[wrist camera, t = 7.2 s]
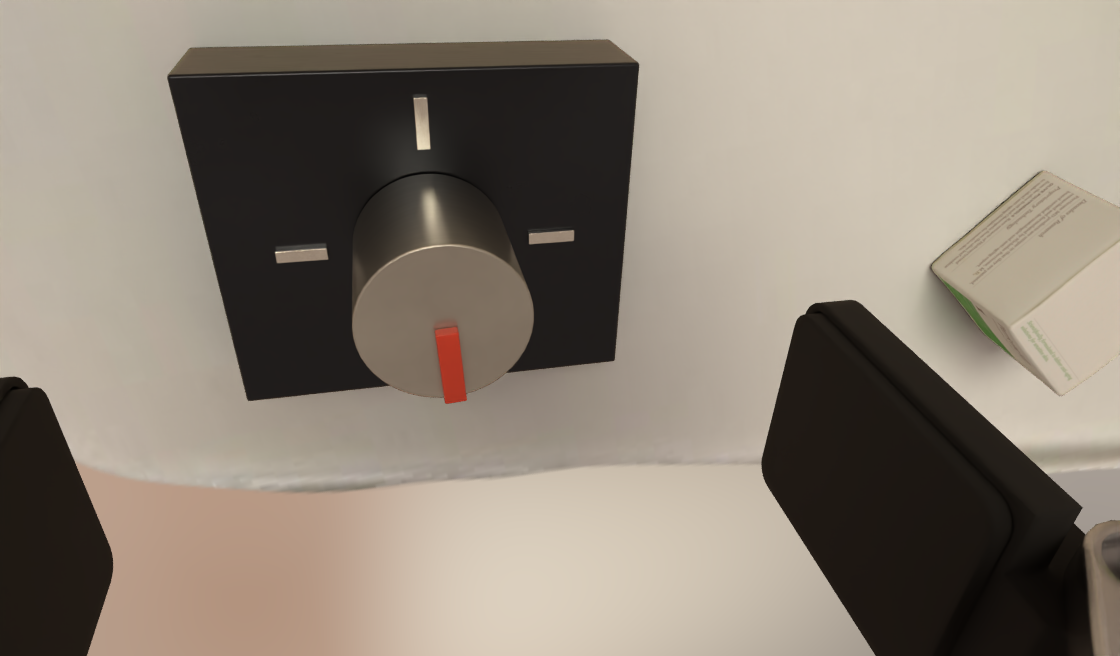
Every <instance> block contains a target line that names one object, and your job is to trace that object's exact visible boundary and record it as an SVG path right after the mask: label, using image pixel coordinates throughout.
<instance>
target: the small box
mask: <svg viewBox="0 0 1120 656" xmlns="http://www.w3.org/2000/svg"><path fill="white" fill-rule="evenodd" d="M931 268H932V270H933V272H934V273H935V274H936V275H937V276H938V277H939V278H940V280H941V281H942V282H943V283H944V284H945V285H946V287H947V288H948V289H949V290H950V292H951V293H952V294H953V295H954V296H955V298H956V299H957V300H958V301H959V303H960V304H961V305H962V306H963V308H964V309H965V310H966V312H967V313H968V314H969V316H970V317H971V318H972V319H973V321H974V322H975V323H976V325H977V326H978V327H979V329H980V330H981V331H982V332H983V333H984V334H985V335H986V336H987V337H988V338H989V339H990V340H992V341H993V342H994V343H995V344H997V345H998V346H999V347H1000V348H1001V349H1003V350H1004V351H1005V352H1006V353H1007V354H1009V355H1010V356H1011V357H1012V358H1013V359H1015V360H1016V361H1017V362H1018V363H1020V364H1021V365H1022V366H1023V367H1025V368H1026V369H1027V370H1028V371H1029V372H1031V373H1032V374H1033V375H1034V376H1036V377H1037V378H1038V379H1039V380H1041V381H1042V382H1043V383H1044V384H1045V385H1047V386H1048V387H1049V388H1050V389H1051V390H1052V391H1054V392H1055V393H1056V394H1057V395H1058V396H1063V395H1065V394H1066V393H1068V392H1069V391H1071V390H1072V389H1074V388H1075V387H1077V386H1078V385H1079V384H1081V383H1082V382H1084V381H1085V380H1087V379H1088V378H1089V377H1091V376H1092V375H1094V374H1095V373H1096V372H1097V371H1099V370H1100V369H1101V368H1103V367H1104V366H1105V365H1107V364H1108V363H1109V362H1110V361H1112V360H1113V359H1114V358H1115V357H1117V356H1118V355H1119V354H1120V207H1118V206H1116V205H1114V204H1112V203H1110V202H1107V201H1105V200H1103V199H1101V198H1099V197H1097V196H1095V195H1093V194H1091V193H1089V192H1087V191H1085V190H1083V189H1081V188H1079V187H1077V186H1075V185H1073V184H1071V183H1069V182H1067V181H1065V180H1063V179H1061V178H1059V177H1057V176H1055V175H1053V174H1051V173H1050V172H1048V171H1042V172H1041V173H1039V174H1038V175H1037V176H1036V177H1034V178H1033V179H1032V180H1031V181H1029V182H1028V183H1027V184H1026V185H1024V186H1023V187H1022V188H1021V189H1020V190H1018V191H1017V192H1016V193H1015V194H1014V195H1013V196H1011V197H1010V198H1009V199H1008V200H1007V201H1005V202H1004V203H1003V204H1002V205H1001V206H1000V207H998V208H997V209H996V210H995V211H994V212H993V213H991V214H990V215H989V216H988V217H987V218H985V219H984V220H983V221H982V222H981V223H980V224H979V225H977V226H976V227H975V228H974V229H973V230H971V231H970V232H969V233H968V234H967V235H965V236H964V237H963V238H962V239H961V240H959V241H958V242H957V243H956V244H955V245H953V246H952V247H951V248H950V249H949V250H947V251H946V252H945V253H944V254H943V255H942V256H940V257H939V258H938V259H937V260H936V261H935V262H934V263H933V264H932V267H931Z"/></svg>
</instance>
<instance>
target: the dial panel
mask: <svg viewBox="0 0 1120 656" xmlns="http://www.w3.org/2000/svg"><path fill="white" fill-rule="evenodd" d="M638 73H639V63H638V62H637V61H635V60H634V59H633V58H632V57H630V56H629V55H628V54H626V53H625V52H624V51H623V50H621V49H620V48H619V47H618V46H616V45H615V44H614V43H612V42H611V41H610V40H564V41H513V42H462V43H411V44H360V45H309V46H258V47H207V48H190V49H189V50H188V51H187V52H186V53H185V55H184V56H183V57H182V58H181V59H180V61H179V62H178V63H177V64H176V66H175V67H174V68H173V69H172V71H171V72H170V73H169V74H168V77H167V79H168V83H169V87H170V91H171V95H172V99H173V103H174V107H175V111H176V115H177V119H178V123H179V127H180V131H181V135H182V139H183V143H184V147H185V151H186V155H187V159H188V163H189V167H190V171H191V175H192V179H193V183H194V187H195V191H196V195H197V200H198V204H199V208H200V212H201V216H202V220H203V224H204V228H205V232H206V236H207V240H208V244H209V248H210V252H211V256H212V260H213V264H214V268H215V272H216V276H217V280H218V284H219V288H220V292H221V296H222V300H223V304H224V308H225V312H226V316H227V320H228V324H229V328H230V332H231V336H232V340H233V344H234V348H235V352H236V356H237V360H238V364H239V369H240V373H241V377H242V381H243V385H244V389H245V393H246V397H247V399H248V401H254V400H264V399H273V398H282V397H291V396H300V395H309V394H318V393H327V392H336V391H345V390H355V389H364V388H373V387H382V386H390V385H389V384H387V383H385V382H384V381H382V380H381V379H380V378H379V377H377V376H376V375H375V374H374V373H373V372H372V371H371V370H370V369H369V368H368V367H367V366H366V364H365V363H364V361H363V360H362V358H361V357H360V355H359V352H358V350H357V348H356V345H355V342H354V339H353V332H352V267H353V234H354V228H355V225H356V222H357V219H358V217H359V215H360V213H361V211H362V210H363V208H364V207H365V205H366V204H367V203H368V201H369V200H370V199H371V198H372V197H373V196H374V195H375V194H376V193H378V192H379V191H380V190H381V189H383V188H384V187H386V186H388V185H389V184H391V183H393V182H395V181H398V180H400V179H403V178H406V177H409V176H414V175H420V174H441V175H447V176H451V177H455V178H458V179H461V180H463V181H465V182H467V183H469V184H471V185H473V186H474V187H476V188H477V189H479V190H480V191H481V192H482V193H483V194H485V195H486V196H487V197H488V199H489V200H490V201H491V202H492V203H493V205H494V206H495V208H496V209H497V211H498V213H499V215H500V217H501V219H502V222H503V225H504V227H505V230H506V232H507V235H508V238H509V240H510V243H511V245H512V248H513V251H514V253H515V256H516V258H517V261H518V264H519V266H520V269H521V271H522V274H523V277H524V279H525V282H526V284H527V287H528V290H529V292H530V295H531V299H532V302H533V309H534V323H533V329H532V333H531V336H530V339H529V342H528V344H527V346H526V348H525V350H524V352H523V354H522V355H521V357H520V358H519V360H518V361H517V362H516V363H515V364H514V365H513V367H512V368H511V369H509V370H508V371H507V372H506V373H509V372H518V371H527V370H536V369H546V368H555V367H564V366H573V365H582V364H591V363H600V362H609V361H614V360H615V351H616V339H617V327H618V314H619V302H620V290H621V278H622V266H623V254H624V242H625V230H626V218H627V206H628V194H629V182H630V169H631V157H632V145H633V133H634V121H635V109H636V97H637V85H638Z"/></svg>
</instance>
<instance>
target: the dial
mask: <svg viewBox="0 0 1120 656" xmlns="http://www.w3.org/2000/svg"><path fill="white" fill-rule="evenodd" d="M533 323H534V309H533V302H532V299H531V295H530V292H529V290H528V287H527V284H526V282H525V279H524V277H523V274H522V271H521V269H520V266H519V264H518V261H517V258H516V256H515V253H514V251H513V248H512V245H511V243H510V240H509V238H508V235H507V232H506V230H505V227H504V225H503V222H502V219H501V217H500V215H499V213H498V211H497V209H496V208H495V206H494V205H493V203H492V202H491V201H490V200H489V199H488V197H487V196H486V195H485V194H483V193H482V192H481V191H480V190H479V189H477V188H476V187H474V186H473V185H471V184H469V183H467V182H465V181H463V180H461V179H458V178H455V177H451V176H447V175H441V174H420V175H414V176H409V177H406V178H403V179H400V180H398V181H395V182H393V183H391V184H389V185H388V186H386V187H384V188H383V189H381V190H380V191H379V192H378V193H376V194H375V195H374V196H373V197H372V198H371V199H370V200H369V201H368V203H367V204H366V205H365V207H364V208H363V210H362V211H361V213H360V215H359V217H358V219H357V222H356V225H355V228H354V234H353V267H352V332H353V339H354V342H355V345H356V348H357V350H358V352H359V355H360V357H361V358H362V360H363V361H364V363H365V364H366V366H367V367H368V368H369V369H370V370H371V371H372V372H373V373H374V374H375V375H376V376H377V377H379V378H380V379H381V380H382V381H384V382H385V383H387V384H389V385H390V386H392V387H394V388H396V389H398V390H401V391H404V392H407V393H410V394H413V395H418V396H424V397H444V399H445V403H446V404H449V403H455V402H461V401H466V400H467V396H466V394H467V393H470V392H473V391H476V390H478V389H481V388H483V387H485V386H487V385H489V384H491V383H492V382H494V381H496V380H497V379H499V378H500V377H501V376H503V375H504V374H505V373H506V372H507V371H508V370H509V369H511V368H512V367H513V365H514V364H515V363H516V362H517V361H518V360H519V358H520V357H521V355H522V354H523V352H524V350H525V348H526V346H527V344H528V342H529V339H530V336H531V333H532V329H533Z"/></svg>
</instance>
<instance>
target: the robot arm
mask: <svg viewBox="0 0 1120 656" xmlns="http://www.w3.org/2000/svg"><path fill="white" fill-rule="evenodd" d="M762 473H763V477H764V480H765V482H766V484H767V486H768V488H769V489H770V491H771V492H772V494H773V496H774V497H775V499H776V500H777V502H778V503H779V505H780V507H781V508H782V510H783V511H784V513H785V514H786V516H787V518H788V519H789V521H790V522H791V524H792V525H793V527H794V528H795V530H796V532H797V533H798V535H799V536H800V538H801V539H802V541H803V543H804V544H805V546H806V547H807V549H808V550H809V552H810V554H811V555H812V557H813V558H814V560H815V561H816V563H817V564H818V566H819V568H820V569H821V571H822V572H823V574H824V575H825V577H826V578H827V580H828V582H829V583H830V585H831V586H832V588H833V590H834V591H835V593H836V594H837V595H838V597H839V599H840V600H841V602H842V604H843V605H844V607H845V608H846V610H847V611H848V613H849V615H850V616H851V618H852V619H853V621H854V622H855V624H856V626H857V627H858V629H859V630H860V631H861V633H862V635H863V636H864V638H865V640H866V641H867V643H868V644H869V646H870V647H871V649H872V651H873V652H874V654H875V655H876V656H1120V520H1110V521H1107V522H1103V523H1099V524H1096V525H1095V526H1094V527H1093V528H1092V529H1091V530H1090V531H1088V532H1087V534H1086V535H1085V534H1084V533H1083V532H1082V531H1081V530H1080V529H1079V528H1078V527H1077V526H1076V525H1075V524H1074V522H1075V520H1076V518H1077V516H1078V515H1079V513H1080V511H1081V509H1082V507H1081V506H1080V505H1079V504H1078V503H1077V502H1076V501H1075V500H1074V499H1073V498H1072V497H1071V496H1069V495H1068V494H1067V493H1066V492H1065V491H1064V490H1063V489H1062V488H1060V486H1059V485H1057V484H1056V483H1055V482H1054V481H1053V480H1052V479H1051V478H1050V477H1049V476H1048V475H1047V474H1046V473H1044V472H1043V471H1042V470H1041V469H1040V468H1039V467H1038V466H1037V465H1036V464H1035V463H1034V462H1032V461H1031V460H1030V459H1029V458H1028V457H1027V456H1026V455H1025V454H1024V453H1023V452H1022V451H1021V450H1019V449H1018V448H1017V447H1016V446H1015V445H1014V444H1013V443H1012V442H1011V441H1010V440H1009V439H1007V438H1006V437H1005V436H1004V435H1003V434H1002V433H1001V432H1000V431H999V430H998V429H997V428H995V427H994V426H993V425H992V424H991V423H990V422H989V421H988V420H987V419H986V418H985V417H984V416H982V415H981V414H980V413H979V412H978V411H977V410H976V409H975V408H974V407H973V406H972V405H970V404H969V403H968V402H967V401H966V400H965V399H964V398H963V397H962V396H961V395H960V394H958V393H957V392H956V391H955V390H954V389H953V388H952V387H951V386H950V385H949V384H948V383H947V382H945V381H944V380H943V379H942V378H941V377H940V376H939V375H938V374H937V373H936V372H935V371H933V370H932V369H931V368H930V367H929V366H928V365H927V364H926V363H925V362H924V361H923V360H921V359H920V358H919V357H918V356H917V355H916V354H915V353H914V352H913V351H912V350H911V349H909V348H908V347H907V346H906V345H905V344H904V343H903V342H902V341H901V340H900V339H899V338H898V337H896V336H895V335H894V334H893V333H892V332H891V331H890V330H889V329H888V328H887V327H886V326H884V325H883V324H882V323H881V322H880V321H879V320H878V319H877V318H876V317H875V316H874V315H872V314H871V313H870V312H869V311H868V310H867V309H866V308H865V307H864V306H863V305H862V304H860V303H859V302H857V301H854V300H845V301H834V302H823V303H815V304H813V305H811V306H810V307H809V309H808V310H807V312H806V314H805V315H802V316H800V317H799V318H798V319H797V321H796V324H795V327H794V331H793V335H792V339H791V343H790V347H789V351H788V355H787V359H786V363H785V367H784V371H783V375H782V379H781V383H780V388H779V392H778V396H777V400H776V404H775V408H774V412H773V416H772V420H771V424H770V428H769V432H768V436H767V440H766V444H765V448H764V452H763V456H762ZM112 573H113V558H112V552H111V548H110V546H109V543H108V541H107V538H106V536H105V534H104V531H103V529H102V526H101V524H100V521H99V519H98V517H97V514H96V512H95V510H94V507H93V505H92V503H91V500H90V497H89V495H88V493H87V490H86V488H85V485H84V483H83V481H82V478H81V476H80V474H79V471H78V469H77V466H76V464H75V461H74V459H73V457H72V454H71V452H70V449H69V447H68V445H67V442H66V440H65V437H64V435H63V433H62V430H61V428H60V425H59V423H58V421H57V418H56V416H55V413H54V411H53V409H52V406H51V404H50V401H49V399H48V397H47V395H46V393H45V392H44V391H43V390H42V389H41V388H37V387H36V388H28V386H27V384H26V383H25V382H24V381H23V380H22V379H21V378H18V377H5V378H0V656H87V654H88V650H89V647H90V644H91V641H92V638H93V635H94V632H95V629H96V626H97V622H98V619H99V617H100V613H101V610H102V607H103V604H104V601H105V598H106V595H107V592H108V589H109V586H110V583H111V578H112Z"/></svg>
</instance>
